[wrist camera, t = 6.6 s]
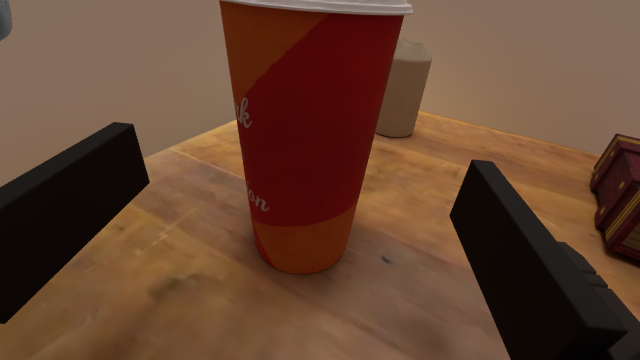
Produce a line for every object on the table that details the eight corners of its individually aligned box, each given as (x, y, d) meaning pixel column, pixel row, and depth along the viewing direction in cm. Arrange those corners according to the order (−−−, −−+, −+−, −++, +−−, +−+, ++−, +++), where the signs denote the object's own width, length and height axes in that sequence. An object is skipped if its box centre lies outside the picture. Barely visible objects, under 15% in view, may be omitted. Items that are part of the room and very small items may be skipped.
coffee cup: (271, 191, 24) (267, -38, 16) (372, 216, 22) (425, -26, 14) (209, 267, 18) (145, -60, 9) (345, 313, 16) (417, -43, 7)
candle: (422, 133, 36) (447, 44, 31) (387, 141, 34) (408, 45, 28) (391, 117, 40) (409, 35, 35) (358, 123, 38) (372, 35, 32)
